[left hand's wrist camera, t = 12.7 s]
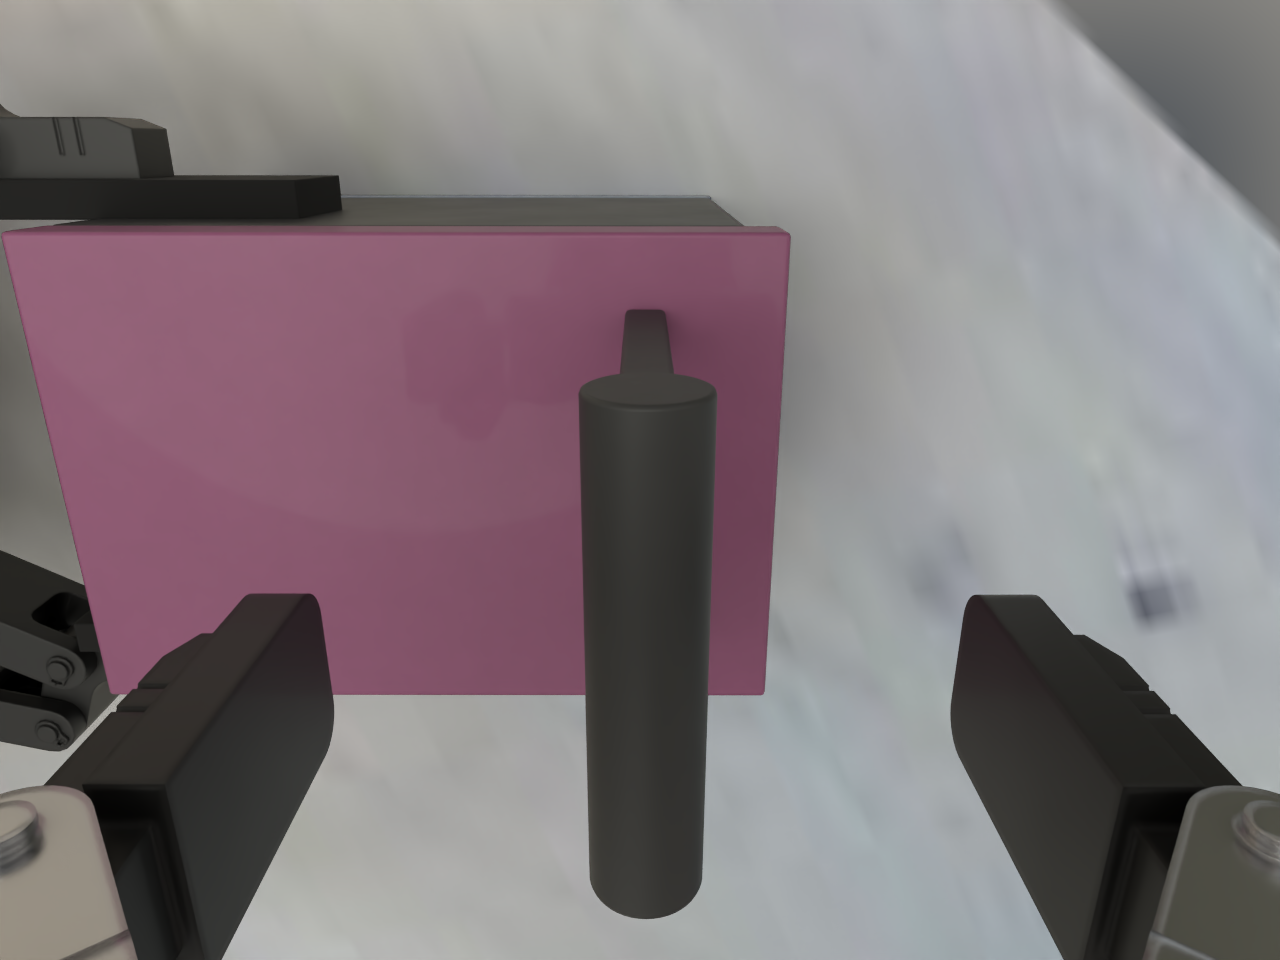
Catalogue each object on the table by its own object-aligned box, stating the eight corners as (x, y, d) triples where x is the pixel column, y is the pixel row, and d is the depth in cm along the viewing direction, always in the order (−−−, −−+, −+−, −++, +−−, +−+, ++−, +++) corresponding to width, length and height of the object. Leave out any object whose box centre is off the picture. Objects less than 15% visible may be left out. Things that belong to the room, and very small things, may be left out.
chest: (708, 195, 26) (747, 224, 16) (701, 493, 29) (729, 661, 20) (263, 195, 26) (46, 223, 16) (305, 493, 29) (143, 660, 20)
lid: (780, 225, 16) (899, 295, 9) (756, 662, 20) (829, 986, 12) (45, 225, 16) (-461, 293, 9) (142, 661, 20) (-170, 985, 12)
